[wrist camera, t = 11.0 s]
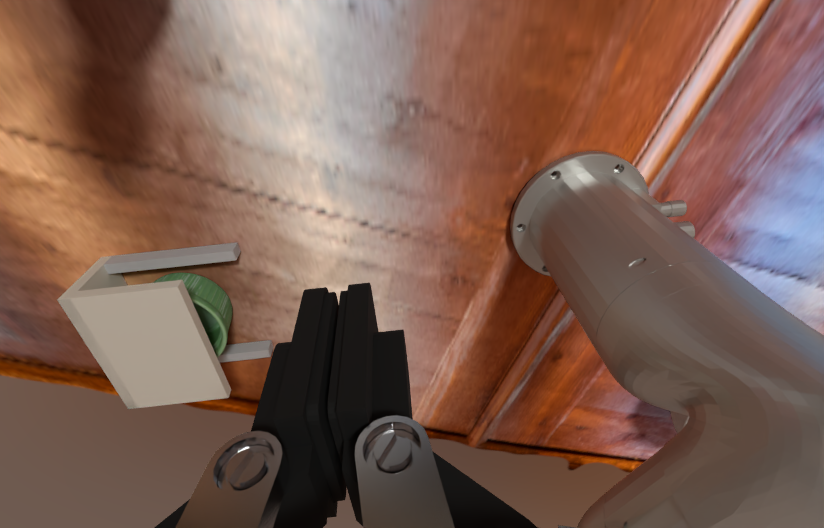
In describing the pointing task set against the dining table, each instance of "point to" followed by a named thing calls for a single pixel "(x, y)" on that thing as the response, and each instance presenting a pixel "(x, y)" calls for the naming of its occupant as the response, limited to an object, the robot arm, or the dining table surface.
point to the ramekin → (207, 306)
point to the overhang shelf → (153, 329)
